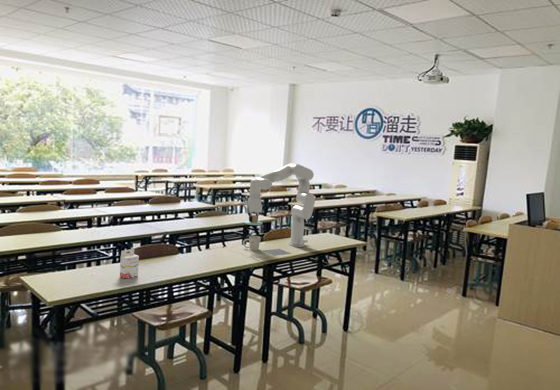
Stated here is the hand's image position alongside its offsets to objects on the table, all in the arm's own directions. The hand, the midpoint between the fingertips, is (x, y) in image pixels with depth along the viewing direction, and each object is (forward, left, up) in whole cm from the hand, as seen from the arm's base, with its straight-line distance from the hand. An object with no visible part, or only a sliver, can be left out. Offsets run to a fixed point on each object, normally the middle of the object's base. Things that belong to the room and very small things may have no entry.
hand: (253, 221), depth 320 cm
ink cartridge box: (+95, +27, -22) cm, 101 cm away
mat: (-13, +14, -21) cm, 28 cm away
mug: (0, 0, -22) cm, 22 cm away
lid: (0, 0, -2) cm, 2 cm away
